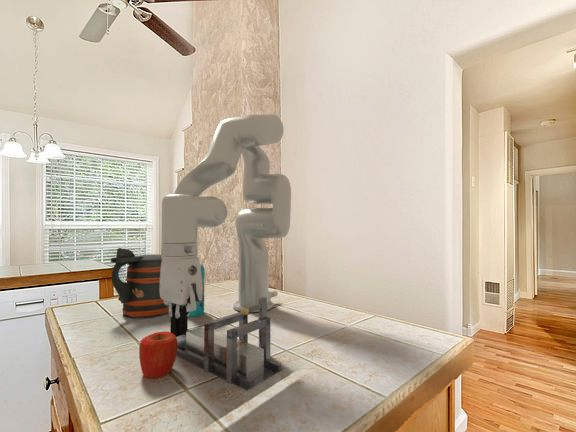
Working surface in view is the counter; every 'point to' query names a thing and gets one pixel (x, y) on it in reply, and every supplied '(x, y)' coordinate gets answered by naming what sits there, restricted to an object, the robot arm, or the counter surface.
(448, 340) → the counter surface
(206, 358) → the collar
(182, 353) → the rail plate
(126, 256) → the beer stein
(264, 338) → the collar
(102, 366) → the counter surface
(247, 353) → the white box
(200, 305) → the beverage can
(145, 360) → the apple
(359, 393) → the counter surface
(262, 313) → the frame
